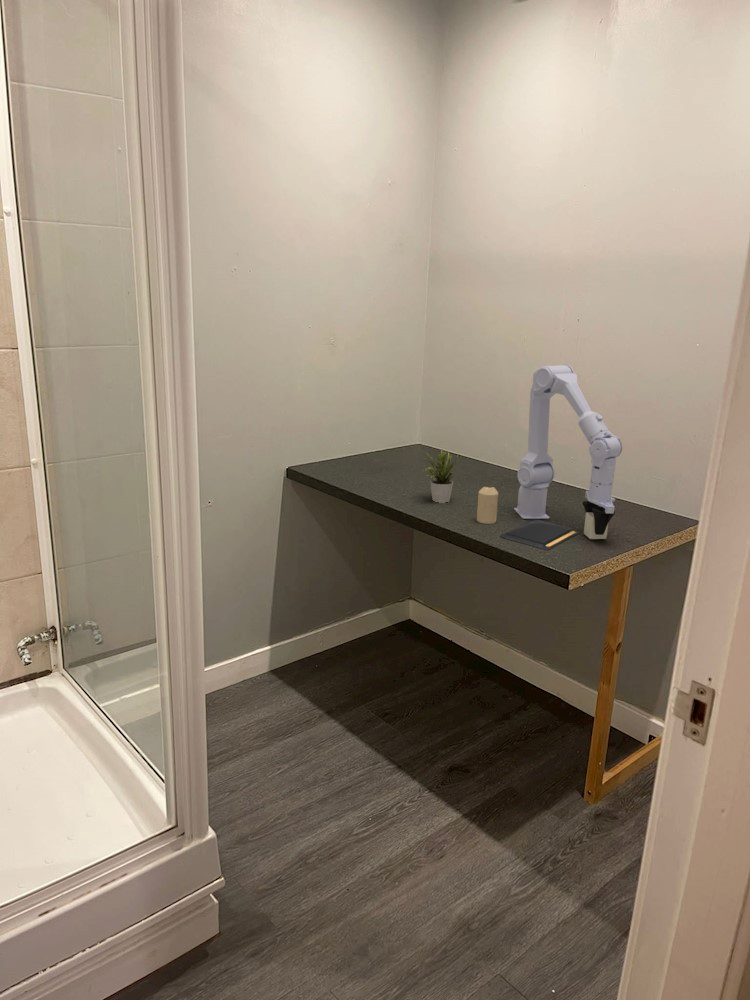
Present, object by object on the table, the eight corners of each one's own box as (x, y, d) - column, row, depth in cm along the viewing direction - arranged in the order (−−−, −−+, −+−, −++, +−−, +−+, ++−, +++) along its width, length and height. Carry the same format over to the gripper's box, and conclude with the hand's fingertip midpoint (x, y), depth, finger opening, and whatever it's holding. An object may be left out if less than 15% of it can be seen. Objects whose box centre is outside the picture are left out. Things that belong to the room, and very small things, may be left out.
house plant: (413, 493, 229) (415, 443, 224) (456, 493, 230) (459, 443, 225) (419, 506, 215) (421, 453, 211) (464, 506, 216) (468, 454, 212)
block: (583, 533, 194) (586, 512, 192) (599, 533, 194) (602, 512, 192) (590, 539, 189) (592, 517, 188) (606, 538, 190) (609, 517, 188)
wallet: (534, 516, 205) (584, 528, 195) (534, 522, 206) (583, 535, 196) (496, 532, 191) (547, 546, 181) (496, 538, 191) (546, 553, 182)
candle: (494, 518, 206) (496, 484, 204) (497, 524, 201) (500, 490, 198) (475, 517, 206) (477, 484, 203) (478, 524, 201) (480, 489, 198)
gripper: (628, 489, 181) (621, 540, 185) (605, 475, 195) (599, 522, 199) (601, 489, 180) (595, 540, 184) (580, 474, 194) (574, 522, 198)
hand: (595, 531), depth 191 cm, fingers closed on block, 4 cm apart
